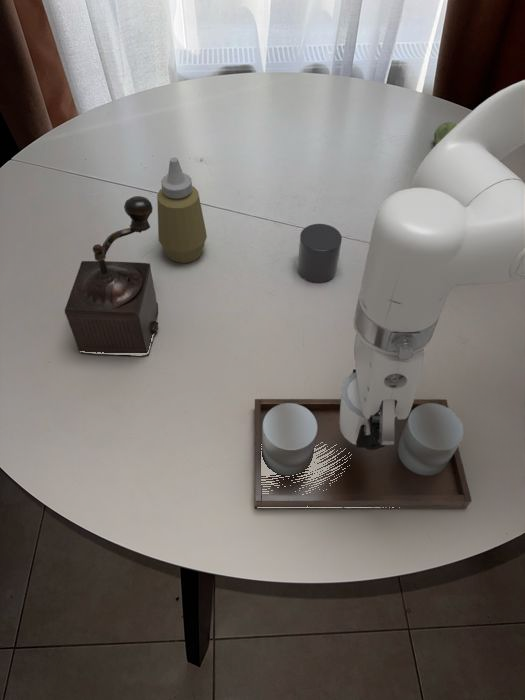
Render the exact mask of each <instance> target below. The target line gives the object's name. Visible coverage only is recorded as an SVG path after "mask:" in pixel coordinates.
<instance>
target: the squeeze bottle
mask: <svg viewBox="0 0 525 700" xmlns="http://www.w3.org/2000/svg"><path fill="white" fill-rule="evenodd" d="M189 175H190V174H189ZM189 175H188V174H186V173H184V171H183V170H182V167H181V163H180V161H179V159H178V158H177V157H175V156H174V157H171V158H170V160H169V164H168V173H167V174H166V175H165V176H163V177H162V178H161V180H160V183H161V184H160V185H161V189H159V191H158V193H157V196H156V198H157V199H156V200H157V201H156V202H157V230H158V231H157V232H158V242H159V243H160V246H161V247H162V249H163V250H164V252H165V253H166V255H167V257H168V258H169V259H170V260H171V261H173V262H174V263H178V264H179V263H180V264H187V263H188V264H189V263H191V262H195V261H196V260H197V259H198V258H199V257H200V256H201V254H202V252H203V249H204V246H205V243H206V241H207V237H208V236H207V229H206V224H205V219H204V214H203V209H202V204H201V199H200V194H199V190H198V189H197V188H196V187H195V186H193V181H192V178H191V176H189Z"/></svg>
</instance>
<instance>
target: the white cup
mask: <svg viewBox="0 0 525 700" xmlns="http://www.w3.org/2000/svg"><path fill="white" fill-rule="evenodd" d="M340 399H341V405H340V422H339V423H340V430H341V432H342V434H343V435H344V437H345V438H346V439H347V440H348V441H350V442H351V443H352V444H355V445H356V441H357V437H358V434H359V430H360V427H361V425H364V422H365V416H364V415H363V413H362V409H361V404H360V397H359V390H358V383H357V376H356V372H354V373H353V372H351V374H350V375H348V377H346V378H345V379H344V381H343V383H342V387H341V389H340ZM395 417H396V414H395ZM372 423H380V416H372Z"/></svg>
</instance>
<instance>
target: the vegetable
mask: <svg viewBox="0 0 525 700" xmlns="http://www.w3.org/2000/svg"><path fill="white" fill-rule="evenodd" d="M457 125H458V124H456V123H455V122H450V121H449V122H444V123H441V124H440V125H439V126H438V127H437V128H435V131H434V134H433V135H434V136H433V139H434V147H435V146H436V145H437V144H438V143H439V142H440V141H441V140H442V139H443V138H444V137H445V136H446V135H447V134H448V133H449V132H450V131H451V130H452V129H453V128H454V127H455V126H457Z"/></svg>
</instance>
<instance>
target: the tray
mask: <svg viewBox="0 0 525 700" xmlns="http://www.w3.org/2000/svg"><path fill="white" fill-rule="evenodd" d="M340 405H341V398H254V508H255V507H307V506H308V507H381V508H382V507H384V508H385V507H387V508H389V507H390V508H392V507H394V508H399V507H400V508H415V509H467V508H468V507H469V505H470V504H471V503H472V496H471V493H470V489H469V485H468V481H467V480H468V479H467V477H466V472H465V469H464V464H463V460H462V457H461V453H460V449H459V446H460V444H461V442H462V441H463V438H464V433H465V431H464V425H463V422H462V420H461V419H460V417H459V415H457V413H455V411H453V410H452V409H451V408H449V404H448V400H447V399H435V398H434V399H433V398H431V399H429V398H428V399H426V398H425V399H424V398H422V399H418V398H417V399H416V398H414V402H413V405H412V408H411V411H410V413H409V415H408V417H407V418H406V419H400V420H398V419H397V416H396V417H395V428H394V445H385V447H383V448H379V449H376V450H368V449H366V448H358V447H357V446H356V445H355V444H352V443H351V442H350V441H348V440H347V439H346V438H345V437H344V435H343V434H342V432H341V430H340V423H339V422H340ZM321 442H323V443H321ZM320 443H321V444H320ZM261 444H262V445H261ZM318 444H319V445H318ZM324 444H327V445H325V446H324V447H322V448H321V449H319V450H317V451H315V452H314V448H316V449H317V448H319V447H321V446H323V445H324ZM336 444H337V445H336ZM316 445H318V446H316ZM334 445H336V446H334ZM261 446H262V447H261ZM315 446H316V447H315ZM327 446H328V447H327ZM333 446H334V447H333ZM325 447H326V450H328V449H330V448H331V447H333V448H331V449H330V450H328V451H327V452H325V453H324V454H322V455H320V456H318V457H317V458H319V457H321V456H323V455H325V454H327V453H329V452H330V451H332V450H334V449H335V450H334V451H333V452H332V453H331V454H333V453H334V452H335V453H334V454H333V455H331V454H329V455H331V456H329V455H328V456H329V457H328V458H326V457H327V456H326V457H324V458H326V459H324V458H322V459H324V460H323V461H321V462H319V463H322V462H324V461H326V460H328V459H330V458H332V457H333V456H335V455H337V454H338V453H340V452H341V451H343V450H344V449H345V448H346V449H345V450H344V451H343V452H341V453H340V454H339V455H337V456H336V457H335V458H336V460H334V459H335V458H333V459H331V460H330V461H332V460H334V461H332V462H330V461H328V462H330V463H328V462H327V463H328V464H327V465H325V466H323V467H326V466H328V465H330V464H332V463H334V462H336V461H337V460H339V459H341V458H342V457H344V456H345V455H346V456H345V457H344V458H342V459H341V460H340V461H338V462H337V463H338V464H337V463H335V464H334V465H335V466H334V465H332V466H334V467H332V466H330V467H332V468H330V467H329V468H330V469H329V470H331V469H333V468H335V467H337V466H339V465H341V464H343V463H344V462H346V461H347V460H348V461H347V462H346V463H344V464H343V465H341V466H340V467H338V468H337V469H339V468H340V469H339V470H337V469H335V470H337V471H335V470H333V471H335V472H334V473H335V474H334V473H332V474H334V475H332V474H329V473H331V472H333V471H329V470H327V471H329V472H327V471H325V472H327V473H325V472H323V473H325V474H323V475H321V476H323V477H321V476H319V477H321V478H319V477H316V478H318V479H317V480H320V479H323V478H325V477H328V476H330V475H332V476H330V477H328V478H326V479H324V480H326V481H324V480H322V481H324V482H322V481H319V482H322V483H320V484H322V485H320V484H317V485H319V486H317V485H313V484H316V483H319V482H316V483H311V482H315V481H317V480H314V481H311V482H308V483H311V484H308V483H303V482H307V481H310V480H305V479H308V478H311V477H307V478H304V479H300V480H295V479H299V478H303V477H306V476H303V477H297V476H301V475H304V474H308V473H302V472H305V471H309V470H305V469H307V468H309V467H308V466H309V465H310V463H311V461H312V458H313V454H314V453H316V452H318V451H320V450H322V449H324V448H325ZM261 448H262V450H261ZM340 448H341V449H340ZM326 450H325V451H326ZM337 450H338V451H337ZM261 451H262V457H263V460H264V462H265V464H266V465H267V467H268V468H269V469H271V470H272V471H273V472H275V473H277V474H276V475H281V476H279V477H284V478H279V477H268V478H261V477H266V476H261ZM336 451H337V452H336ZM323 452H324V451H323ZM323 452H321V453H323ZM349 452H350V453H349ZM321 453H320V454H321ZM348 453H349V454H348ZM351 454H352V455H351ZM318 455H319V454H318ZM350 455H351V456H350ZM316 456H317V455H316ZM349 456H350V457H349ZM337 457H338V458H337ZM347 457H348V458H347ZM317 458H316V459H317ZM346 458H347V459H346ZM350 458H351V459H350ZM322 459H320V460H322ZM344 459H346V460H344ZM342 460H343V461H342ZM339 462H340V463H339ZM314 463H315V462H314ZM319 463H317V464H319ZM325 464H326V463H325ZM336 464H337V465H336ZM323 465H324V464H323ZM349 465H350V466H349ZM347 466H348V467H347ZM310 467H311V466H310ZM323 467H321V468H323ZM341 467H342V468H341ZM321 468H319V469H321ZM344 468H346V469H344ZM319 469H317V470H319ZM327 469H328V468H327ZM342 469H344V470H342ZM315 471H316V470H315ZM322 471H323V470H322ZM344 471H345V472H344ZM312 472H313V471H312ZM320 472H321V471H320ZM342 472H343V473H342ZM299 473H301V474H299ZM310 473H311V472H310ZM317 473H318V472H317ZM340 473H342V474H340ZM296 474H298V475H296ZM314 474H315V473H314ZM321 474H322V473H321ZM326 474H329V475H326ZM338 474H339V475H338ZM276 475H270V476H276ZM292 475H294V476H292ZM310 475H313V473H312V474H310ZM310 475H307V476H310ZM319 475H320V474H319ZM324 475H325V476H324ZM336 475H337V476H336ZM341 475H342V476H341ZM285 476H290V477H285ZM334 476H335V477H334ZM339 476H340V477H339ZM293 477H294V478H293ZM337 477H338V478H337ZM272 478H278V479H273V480H266V481H275V482H272V483H278V484H274V485H280V486H274V485H261V484H271V483H261V482H266V481H261V479H272ZM288 478H289V479H288ZM316 478H314V479H316ZM329 478H330V479H329ZM335 478H337V479H335ZM283 479H284V480H283ZM327 479H328V480H327ZM333 479H335V480H333ZM276 480H279V481H276ZM291 480H293V481H291ZM301 480H303V481H301ZM311 480H313V479H311ZM330 480H333V481H330ZM336 480H337V481H336ZM297 481H300V482H297ZM334 481H335V482H334ZM279 482H280V483H279ZM293 482H296V483H293ZM332 482H333V483H332ZM323 483H324V484H323ZM329 483H331V484H329ZM282 484H283V485H282ZM305 484H308V485H305ZM290 485H291V486H290ZM301 485H305V486H301ZM309 485H310V486H309ZM311 485H313V486H311ZM330 485H331V486H330ZM263 486H271V487H263ZM284 486H286V487H284ZM306 486H307V487H306ZM314 486H317V487H314ZM277 487H279V488H277ZM302 487H304V488H302ZM311 487H314V488H311ZM318 487H319V488H318ZM268 488H270V489H268ZM299 488H301V489H299ZM309 488H311V489H309ZM315 488H316V489H315ZM262 489H267V490H262ZM312 489H314V490H312ZM319 489H320V490H319ZM326 489H327V490H326ZM271 490H273V491H271ZM299 490H300V491H299ZM308 490H311V491H308ZM323 490H324V491H323ZM262 491H269V492H262ZM295 491H296V492H295ZM305 491H308V492H305ZM309 492H311V493H309ZM262 493H269V494H262ZM306 493H308V494H306ZM302 494H304V495H302Z"/></svg>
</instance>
